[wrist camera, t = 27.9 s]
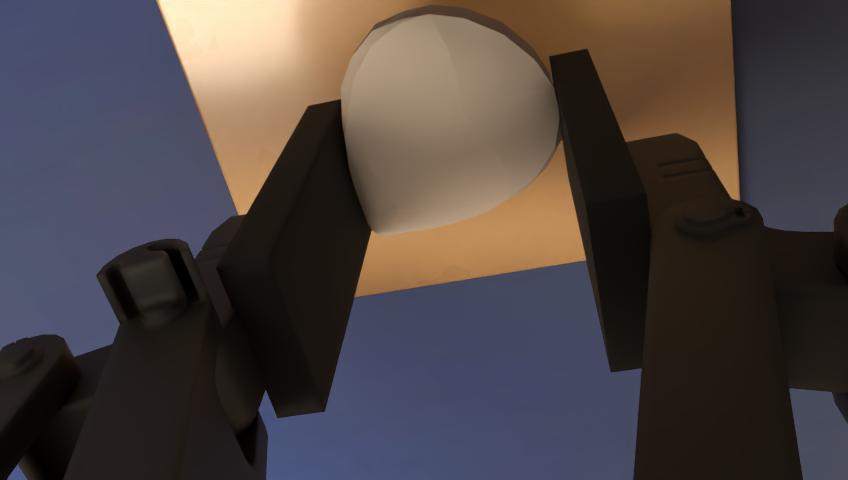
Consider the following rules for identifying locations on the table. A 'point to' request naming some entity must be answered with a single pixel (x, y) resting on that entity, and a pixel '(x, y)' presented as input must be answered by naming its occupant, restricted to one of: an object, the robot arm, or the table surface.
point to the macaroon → (444, 118)
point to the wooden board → (531, 20)
